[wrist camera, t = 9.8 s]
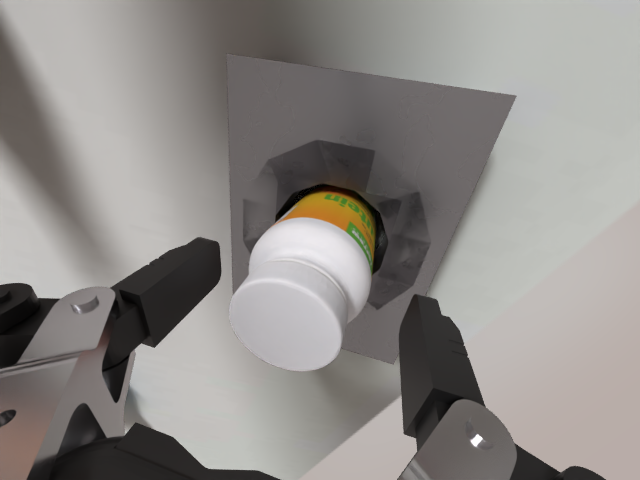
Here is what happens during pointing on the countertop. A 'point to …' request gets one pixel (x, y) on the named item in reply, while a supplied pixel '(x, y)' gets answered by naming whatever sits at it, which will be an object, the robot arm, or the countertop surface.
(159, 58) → the countertop surface
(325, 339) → the supplement bottle
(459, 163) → the socket plate
